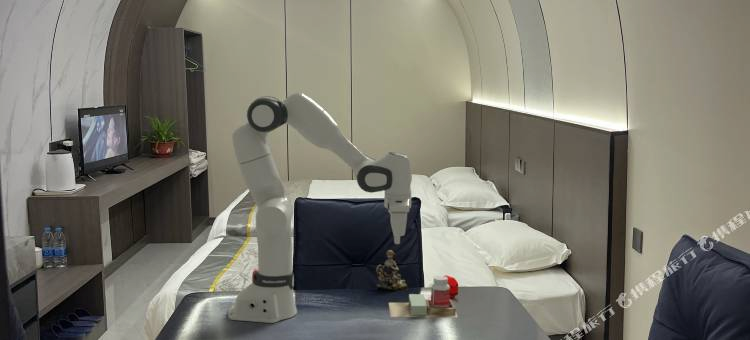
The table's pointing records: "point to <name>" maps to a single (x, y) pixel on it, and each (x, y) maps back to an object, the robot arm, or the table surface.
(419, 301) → the housing cover
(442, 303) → the pill bottle
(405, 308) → the base
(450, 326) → the table surface
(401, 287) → the figurine
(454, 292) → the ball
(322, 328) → the table surface
